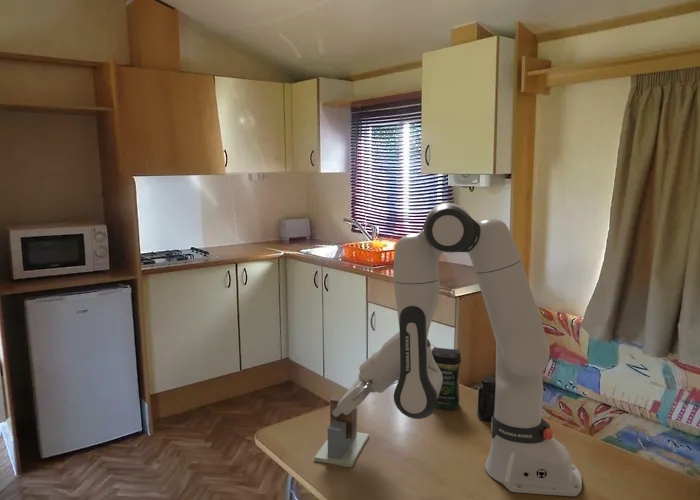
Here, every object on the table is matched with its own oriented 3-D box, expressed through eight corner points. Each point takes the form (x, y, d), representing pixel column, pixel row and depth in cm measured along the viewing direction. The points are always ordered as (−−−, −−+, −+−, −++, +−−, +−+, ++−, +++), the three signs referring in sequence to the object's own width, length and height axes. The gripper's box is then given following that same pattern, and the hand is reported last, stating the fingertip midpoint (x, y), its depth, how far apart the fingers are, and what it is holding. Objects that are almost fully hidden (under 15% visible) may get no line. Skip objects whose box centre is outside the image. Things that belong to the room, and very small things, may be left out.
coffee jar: (427, 408, 169) (428, 351, 166) (430, 398, 176) (431, 343, 173) (458, 412, 166) (460, 354, 163) (460, 401, 174) (462, 346, 171)
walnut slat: (355, 433, 145) (355, 398, 143) (351, 439, 142) (351, 403, 141) (334, 430, 147) (334, 395, 145) (330, 435, 144) (330, 400, 142)
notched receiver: (368, 437, 151) (369, 406, 150) (351, 467, 136) (351, 434, 135) (335, 431, 154) (335, 402, 153) (314, 460, 139) (314, 428, 138)
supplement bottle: (501, 423, 159) (503, 384, 157) (477, 421, 161) (478, 382, 159) (499, 413, 166) (501, 375, 164) (476, 411, 167) (478, 374, 165)
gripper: (373, 400, 129) (335, 433, 133) (393, 370, 148) (359, 399, 152) (355, 380, 129) (318, 414, 134) (377, 352, 149) (344, 383, 153)
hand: (340, 406), depth 143 cm, fingers open, 8 cm apart
